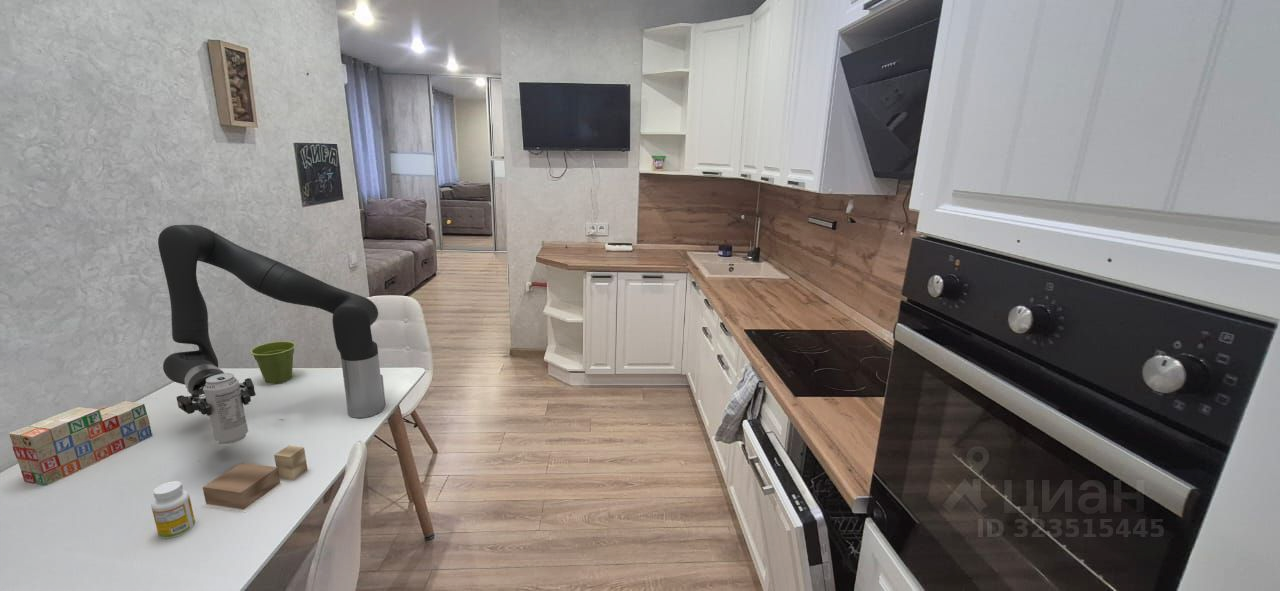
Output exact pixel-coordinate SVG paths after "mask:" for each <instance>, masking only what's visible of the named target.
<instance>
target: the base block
mask: <svg viewBox="0 0 1280 591" xmlns="http://www.w3.org/2000/svg"><path fill="white" fill-rule="evenodd" d="M280 481H281V479H280V478H279V473H278V467H276V466H269V465H262V464H255V463H249V462H240V463H239V464H237V465H236V466H234V467H232V468H231V469H229V470H228V471H226V472H224V473H223V474H221V475H219V476H218V477H216V478H214V479H213V480H211V481H210V482H208V483H206V484H205V485H203V486H202V491H203V496H204V500H205V504H211V505H218V506H224V507H231V508H237V509H245V508H247V507H248V506H249V505H251V504H252V503H254V502H255V501H256V500H258V499H259V498H260V497H262V496H263V495H265V494H266V493H267V492H269V491H270V490H272V489H273V488H274V487H276V486H277V485H278V484H280Z"/></svg>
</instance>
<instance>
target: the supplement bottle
mask: <svg viewBox="0 0 1280 591" xmlns="http://www.w3.org/2000/svg"><path fill="white" fill-rule="evenodd" d="M152 494H153V497H154V499H153V501H152V502H151V511H152V516H153V518H154V523H155V526H156V527H155V528H156V530H157V535H158V536H159V537H160V538H161V539H171V538H172V539H173V538H174V537H178V536H182V535H183V534H185V533H188V532H189V531H190V530H191V529H193V528H194V527H195V525H196V519H195V515H194V511H193V507H192V502H191V498H190V493H189V492H188V491H187V490H184V489H183V485H182V482H181V481H180V480H174V481H173V480H172V481H168V482H165V483H161V484H160V485H158V486H156V488H154V489H153V493H152Z"/></svg>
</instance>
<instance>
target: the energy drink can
mask: <svg viewBox="0 0 1280 591" xmlns="http://www.w3.org/2000/svg"><path fill="white" fill-rule="evenodd" d="M239 383H240V382H239V379H237V378H236V377H235V375H234V373H229V372H224V373H223V374H217V375H214V376H211V377H209V378H207V379H206V384H205V386H204V392H205V397H206V402H207V403H208V404H209V406H210V408H211V413H212V415H209V419H210V420H209V421H210V424H211V428H212V434H213V437H214V441H215V442H218V444H221V445H229V444H234V443H237V442H240V441H242V440H243V439H245V438H246V436H247V433H248V432H249V428H248V422H247V419H246V413H245V408H244V404H243V402H242V397H241V391H240V386H239Z"/></svg>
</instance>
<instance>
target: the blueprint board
mask: <svg viewBox="0 0 1280 591" xmlns="http://www.w3.org/2000/svg"><path fill="white" fill-rule="evenodd" d="M286 483H287V481H284V480H280V484H278V485H277V486H276V487H274V488H273V489H272V490H270V491H269V492H267V493H266V494H265V495H263V496H262V497H260V498H259V499H258V500H256V501H255V502H254V503H252V504H251V505H249V506H248V507H247V508H245V509H237V508H231V507H224V506H218V505H211V504H206V503H205V504H203V505H202V507H207V508H212V509H213V508H214V509H219V510H224V511H225V510H226V511H233V512H238V513H239V512H240V513H247V512H248V511H250V510H251V509H252V508H253V507H256V505H258V504H259V503H260V502H262V501H263V500H265V499H266V498H267V497H269V496H270V495H271V494H272V493H274V492H276V490H278V489H279V488H281V487H282V486H284V485H285V484H286Z"/></svg>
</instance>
